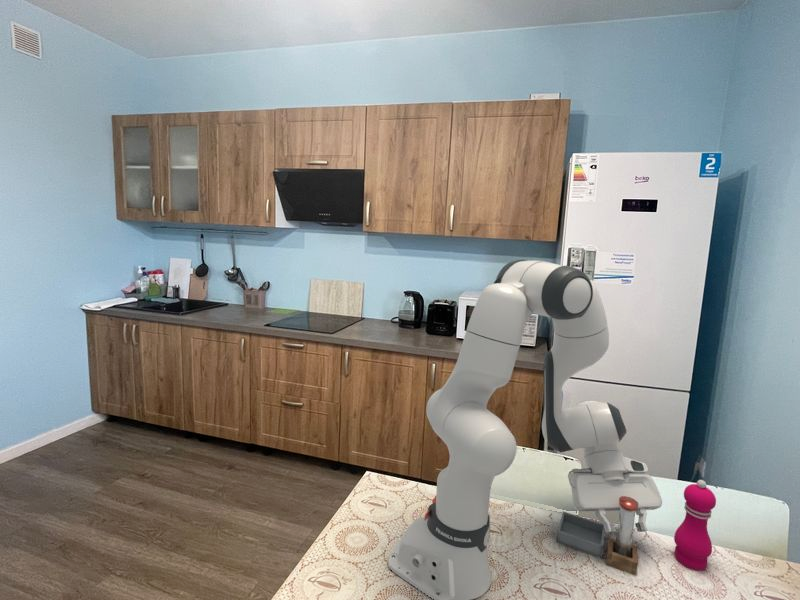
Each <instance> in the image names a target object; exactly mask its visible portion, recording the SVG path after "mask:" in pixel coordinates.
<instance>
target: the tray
mask: <svg viewBox="0 0 800 600" xmlns="http://www.w3.org/2000/svg"><path fill="white" fill-rule="evenodd" d="M605 534H606V531H605V528H604V525H603V524H602V523H601V522H597V521H596V520H592V519H589V518H585V517H582V516H579V515H576V514H574V513H570V512H567V511H564V510H563V511H562V513H561V518H560V521H559V523H558V528H557V531H556V543H557V544H559V545H561V546H565V547H567V548H570V549H573V550H576V551H579V552H582V553H584V554H587V555H590V556H592V557H595V558H599V559H601V560H602V558H603V552H604V541H605Z"/></svg>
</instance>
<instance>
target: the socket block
mask: <svg viewBox="0 0 800 600" xmlns="http://www.w3.org/2000/svg"><path fill="white" fill-rule="evenodd" d="M615 547H616V538H612V537H610V536H609V537H608V544H607V549H606V550H607V551H606V562H605V566H608V567H611V568H614V569H617V570H620V571H622V572H625V573H628V574H630V575H634V576H637V571H638V563H639V562H638V561H639V553H638V550H639V546H637V545H634V544H631V550H630V558H629V557H626V556H623V555H620V554H618V553H615Z"/></svg>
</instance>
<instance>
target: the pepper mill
mask: <svg viewBox="0 0 800 600" xmlns="http://www.w3.org/2000/svg"><path fill="white" fill-rule="evenodd" d="M683 498H684V500H685V503H684V508H683V509H684V511H685V517H684V519H683V521H682V522H681V524H680V525H679V526H678V527H677V529H676V530H675V533H674V536H673V541H674V544H675V547H674V551H673V552H674V554H673V555H674V557H675V559H676V560H677V561H678V562H679V563H680V564H681V565H683V566H685V567H687V568H688V569H690V570H691V569H692V570H695V571H704V570H706V569H707V567H708V560H709V559H708V558H709V557H711V555H712V552H713V545H712V541H711V538H710V534H709V532H708V520H709V519H711V518H712V510H713V509H714V508H715V507H716V504H717V498H716V496H715V493H714V492H713V491H712V490H711V489H710V488H708V487H707V483H706V481H705V480H703V479H698V480H697V482H696V483H692V484H689V485H687V486H686V487H685V488H684V491H683Z"/></svg>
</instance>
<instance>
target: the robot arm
mask: <svg viewBox="0 0 800 600" xmlns="http://www.w3.org/2000/svg"><path fill="white" fill-rule="evenodd" d="M476 301H477V302H475V305H474V308H473V310H472V312H471V314H470V317H469V321H468V324H467V327H466V330H465V335H464V337H463V340H462V345H461V347H460V351H459V354H458V357H457V359H456V363H455V366H454V368H453V370H452V372H451V374H450V375H449V376H448V379H447V381H446V382H445V384H444V385H443V386H442V387H441V388H439V389H437V390H436V391H435V392H433V393H432V395H430V397H429V399H428V401H427V403H426V408H425V410H426V411H425V412H426V416H427V418H428V422H429V424H430V426H431V428H432V430H433V431H434V433H435V434H436V435H437V436H438V437H439V438H440V439H441V440H442V442H443V443H444V444H445V445H446V446H447V449H448V454H449V460H448V465H447V466H446V467H445V468H442V470H440V472H439V474H438V476H437V478H436V479H437V480H436V495H435V497H434V498H432V500H431V501H432V503H431V504H430V505H429V506H428V507H427V510H426V512H425V514H424V516H421V517H419V518H417V519H415V520H414V521H413V522H412V523H411V524H410V525H409V527H408V528H406V530H405V531H404V533H403V536H401V537H400V538H399V539H398V540H397V541H396V543H395V544H394V546H393V547H392V548H391V550H390V553H389V556H388V559H387V561H388V562H387V567H389V568H390V569H391V570H392V571H391V570H390V569H389V568H388V569H389V570H390V571H391V572H393V573H394V574H396V575H397V576H398V577H400V578H401V579H403V580H404V581H406V582H407V583H408V582H409V584H410V585H411V584H412V586H413V585H414V586H415V587H414V586H413V587H414V588H416V589H417V588H418V589H417V590H419V591H420V592H421V591H422V592H421V593H423V594H424V593H425V594H424V595H426V596H427V595H428V596H427V597H428V598H430V597H431V598H432V599H431V598H430V599H431V600H433V599H434V600H474V599H478V598H480V597H482V596H483V595H484V594H485V593H487V591H488V590H489V589H490V587H491V585H492V572H491V569H490V564H489V557H488V555H489V554H488V545H489V542H490V534H491V533H490V532H491V531H490V530H491V527H490V525H491V523H490V521H491V520H490V518H491V517H490V513H489V509H490V498H491V490H492V485H493V483H494V479H495V477H496V476H497V477H498V476H499V475H501V474H503V473H505V471H507V470H508V469H509V468H510V467H511V466H512V465H513V462H514V461H515V458H516V456H517V449H518V448H517V447H518V446H517V442H516V438H515V436H514V435H513V434H512V432H511V431H510V429H509V427H508V426H507V425H506V424H505V422H504V421H503V420H502V419H501V418H499V416H498V415H496V414H494V413H493V412H491V411H490V410H489V409H487V408H488V403H489V400H490V399H491V397H492V395H493V394H494V392H495V391H496V390H497V389H499V388H502V387H504V386H506V385H507V384H508V383H509V382H510V381H511V378H512V374H513V372H514V371H513V370H514V367H515V364H516V360H517V356H518V354H519V350H520V347H521V344H522V339H523V335H524V331H525V325H526V323H527V321H528V320H529V318H530V317H532V316H533V314H534V315H537V316H542V317H547V318H549V317H550V318H552V325H553V332H554V341H553V344H552V347H551V348H550V350H548V351H547V352H546V353H545V354H544V358H543V370H542V377H543V378H542V383H543V384H542V385H543V387H542V390H543V391H542V392H543V393H542V395H543V396H542V397H543V399H542V400H543V401H542V402H543V407H542V408H543V409H542V410H543V411H542V419H541V431H542V436H543V439H544V441H545V443H546V445H547V446H548V447H550V448H551V449H553V450H554V451H557V452H558V453H565V452H570V451H573V450H576V449H577V450H578V449H583V458H584V462H585V465H586V468H572V470H570V471H569V472H568V475H567V478H568V482H569V485H570V487H571V497H572V502H573V506H574V508H575V509H576V510H577V511H578V512H594V513H595V516H596V518H597V519H598V520H599V522H600V523H601V524H603V525H604V528H605V534H606V533H609V534H610V533H611V534H613V533H615V532H616V529H615V525H614V523H613V522H610V521H609V520H608V518H607V517H606V516H605V515H607V513H606V511H608V512H609V511H614V512H615V511H617V512H618V511H620V505H619V498H620V497H622V496H627V497H630V498H633V499H635V500H636V501H637V502H638V509H637V510H636V511H635V516H636V515H637V516H638V520H637V522H634V525H635V527H636V531H637V532H638V533H645V532H647V531H648V527H647V525H646V524H647V523H646V521H647V515H648V513H647V511H649V510H651V511H652V510H656V509H660V508H661V507H662V506H663V499H662V497H661V494H660V491H659V489H658V485H657V484H656V482H655V480H654V479H653V477H652V476H651V475H649V474H648V472H649V468H648V465H647V464H646V463H644V462H643V461H639V460H636V459H633V458H630V457H627V456H624V454H623V451H622V450H621V449H620V446H619V445H618V443H620V442H621V441H622V440H623V438H624V437H625V436H626V434H627V428H626V425H625V423H624V420H623V418H622V415H621V412H620V409H619V408H618V407H616V406H615V405H613V404H611V403H609V402H600V401H598V400H585V401H582V402H580V403H577V405H576V406H571V407H563V386H564V384H565V383H566V382H567V381H568V380H569V379H570V378H572V377H573V376H574V375H576V374H578V373H579V372H581V371H583V370H585V369H588V368H589V367H592V366H593V365H595V364H596V363H597V362H599V361H601V359H602V358H603V357H604V355H605V354H606V352H607V350H608V349H609V345H610V334H609V333H610V332H609V326H608V320H607V315H606V311H605V308H604V305H603V301H602V298H601V296H600V292H599V290H598V288H597V286H596V285H595V284H594V283H593V281H591V280H590V277H589V276H588V275H587V274H586V273H585V272H584V271H582V270H580V269H578V268H577V267H574V266H570V265H563V264H562V265H561V264H558V263H553V262H549V261H547V260H546V261H545V260H528V259H515V260H511V261H510V262H507V263H506V264H505V265H504V266H502V268H501V269H500V271H499V272H498V274H497V276H496V279H495V280H494V282H493V283H492V284H489V285H487V286H486V287H484V288H483V290H481V292H480V295H479V297H478V298H477V300H476ZM393 557H394V558H393Z"/></svg>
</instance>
